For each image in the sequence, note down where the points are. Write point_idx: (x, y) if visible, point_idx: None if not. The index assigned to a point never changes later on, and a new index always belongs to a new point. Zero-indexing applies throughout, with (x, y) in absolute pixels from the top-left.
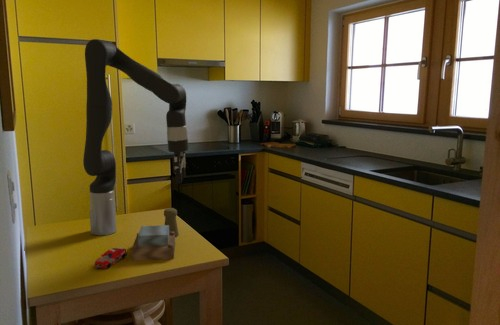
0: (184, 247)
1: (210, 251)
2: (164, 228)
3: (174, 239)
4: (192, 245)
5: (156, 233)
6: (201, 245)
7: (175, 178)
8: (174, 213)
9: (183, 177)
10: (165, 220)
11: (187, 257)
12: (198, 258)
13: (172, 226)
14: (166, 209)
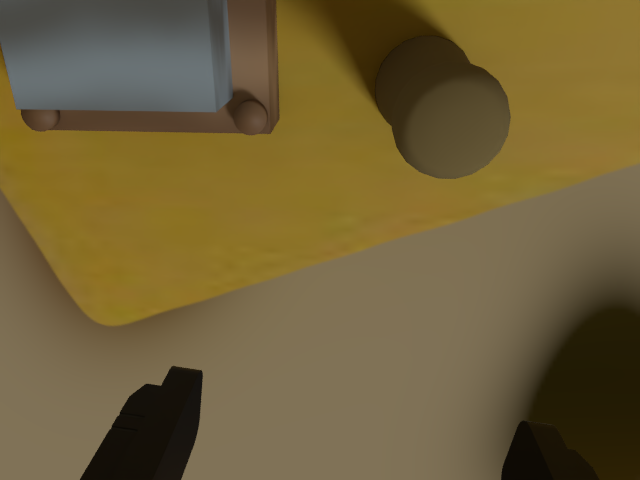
0: (216, 169)
1: (162, 287)
2: (142, 80)
3: (179, 130)
4: (242, 210)
5: (30, 24)
6: (240, 253)
7: (147, 413)
8: (404, 158)
9: (510, 466)
10: (424, 68)
11: (85, 183)
12: (78, 232)
13: (391, 115)
14: (452, 94)
